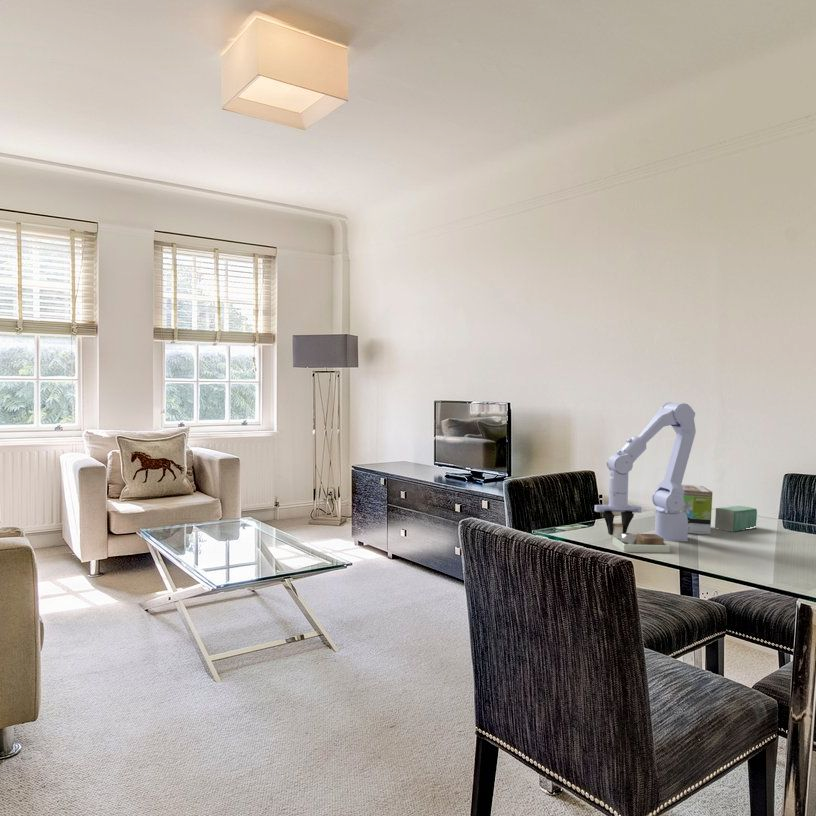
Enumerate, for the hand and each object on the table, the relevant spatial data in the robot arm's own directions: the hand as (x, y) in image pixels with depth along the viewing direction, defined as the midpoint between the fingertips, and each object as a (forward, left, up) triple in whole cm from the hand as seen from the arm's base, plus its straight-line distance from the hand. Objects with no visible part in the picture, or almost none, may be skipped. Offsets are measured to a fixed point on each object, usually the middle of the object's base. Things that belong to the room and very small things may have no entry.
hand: (616, 534), depth 217 cm
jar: (0, 0, -2) cm, 2 cm away
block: (-6, +12, -1) cm, 13 cm away
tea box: (-32, -17, -2) cm, 36 cm away
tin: (+1, +12, -1) cm, 12 cm away
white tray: (-3, +12, -2) cm, 12 cm away
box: (-49, -20, -2) cm, 53 cm away
